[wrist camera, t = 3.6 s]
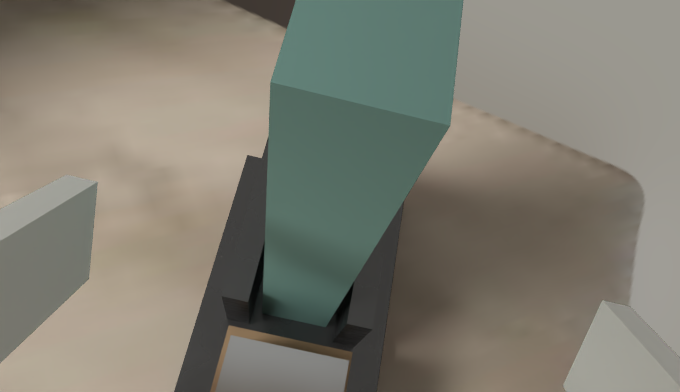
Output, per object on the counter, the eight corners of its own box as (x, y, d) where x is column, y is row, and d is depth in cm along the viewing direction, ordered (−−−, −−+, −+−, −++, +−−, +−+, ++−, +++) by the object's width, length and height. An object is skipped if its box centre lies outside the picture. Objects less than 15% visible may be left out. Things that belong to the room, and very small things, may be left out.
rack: (342, 601, 24) (367, 650, 18) (125, 559, 23) (85, 597, 18) (401, 198, 33) (429, 151, 27) (247, 163, 32) (245, 108, 27)
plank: (325, 327, 28) (450, 125, 10) (262, 313, 28) (270, 81, 10) (348, 211, 31) (474, -102, 13) (291, 198, 31) (338, -138, 13)
